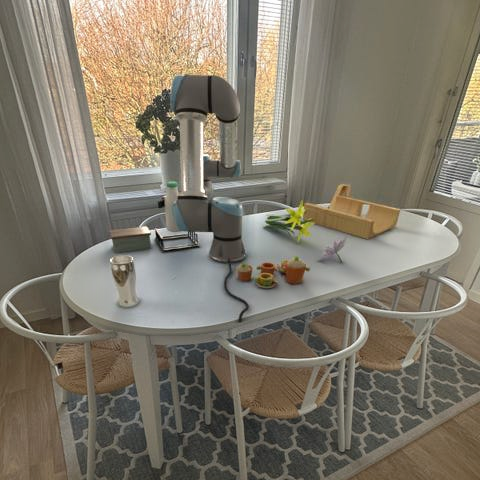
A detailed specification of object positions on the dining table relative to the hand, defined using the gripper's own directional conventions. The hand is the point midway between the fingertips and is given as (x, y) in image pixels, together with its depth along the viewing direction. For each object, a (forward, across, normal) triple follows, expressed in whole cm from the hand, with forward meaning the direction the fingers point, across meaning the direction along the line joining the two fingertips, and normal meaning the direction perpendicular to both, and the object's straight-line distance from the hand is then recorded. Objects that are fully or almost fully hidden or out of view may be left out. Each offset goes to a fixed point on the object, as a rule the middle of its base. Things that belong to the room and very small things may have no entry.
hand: (167, 206), depth 142 cm
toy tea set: (+12, -50, -18) cm, 55 cm away
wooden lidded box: (+8, +15, -18) cm, 24 cm away
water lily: (-16, -68, -18) cm, 72 cm away
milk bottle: (-5, 0, -12) cm, 13 cm away
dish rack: (-5, 0, -18) cm, 18 cm away
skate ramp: (-72, -70, -18) cm, 102 cm away
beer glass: (+47, -13, -18) cm, 52 cm away
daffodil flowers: (-35, -42, -18) cm, 58 cm away
